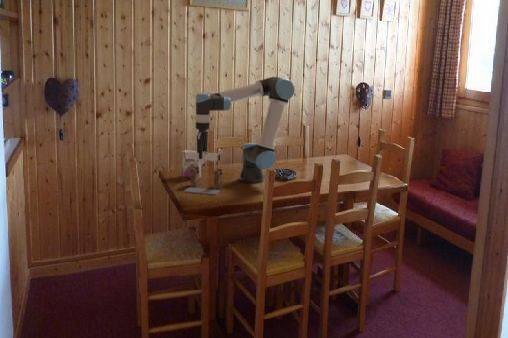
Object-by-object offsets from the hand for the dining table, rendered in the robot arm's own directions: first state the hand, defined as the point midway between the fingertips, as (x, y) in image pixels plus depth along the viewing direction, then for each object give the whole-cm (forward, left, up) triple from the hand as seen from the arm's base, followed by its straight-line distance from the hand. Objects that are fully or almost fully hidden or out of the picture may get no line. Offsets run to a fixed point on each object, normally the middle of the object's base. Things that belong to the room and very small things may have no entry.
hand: (202, 163), depth 281 cm
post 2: (-6, -11, -16) cm, 21 cm away
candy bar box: (+16, -28, -17) cm, 36 cm away
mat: (0, 0, -16) cm, 16 cm away
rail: (0, 0, +2) cm, 2 cm away
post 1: (+8, -11, -16) cm, 21 cm away
